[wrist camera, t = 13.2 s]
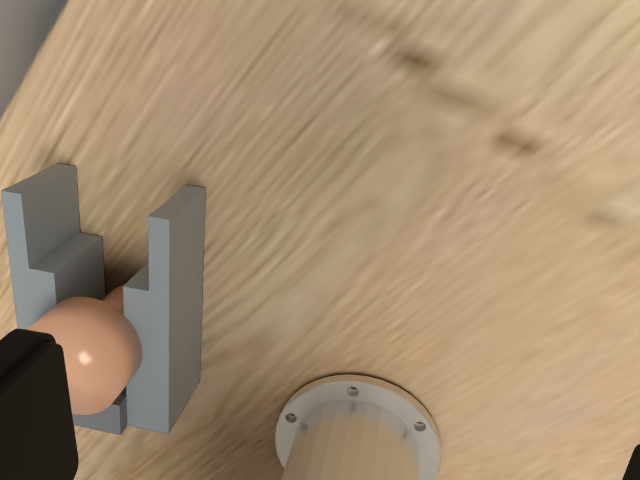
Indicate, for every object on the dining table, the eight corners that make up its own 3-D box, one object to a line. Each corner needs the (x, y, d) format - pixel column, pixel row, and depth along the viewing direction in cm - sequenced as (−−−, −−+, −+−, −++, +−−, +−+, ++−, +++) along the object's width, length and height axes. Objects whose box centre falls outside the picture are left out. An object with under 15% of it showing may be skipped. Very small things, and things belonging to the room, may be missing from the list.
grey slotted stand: (199, 381, 46) (162, 444, 40) (73, 355, 47) (17, 412, 41) (205, 187, 40) (162, 226, 33) (58, 163, 41) (-11, 196, 35)
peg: (179, 347, 44) (129, 418, 37) (96, 343, 45) (31, 411, 38) (164, 263, 41) (107, 322, 34) (76, 262, 43) (3, 318, 35)
